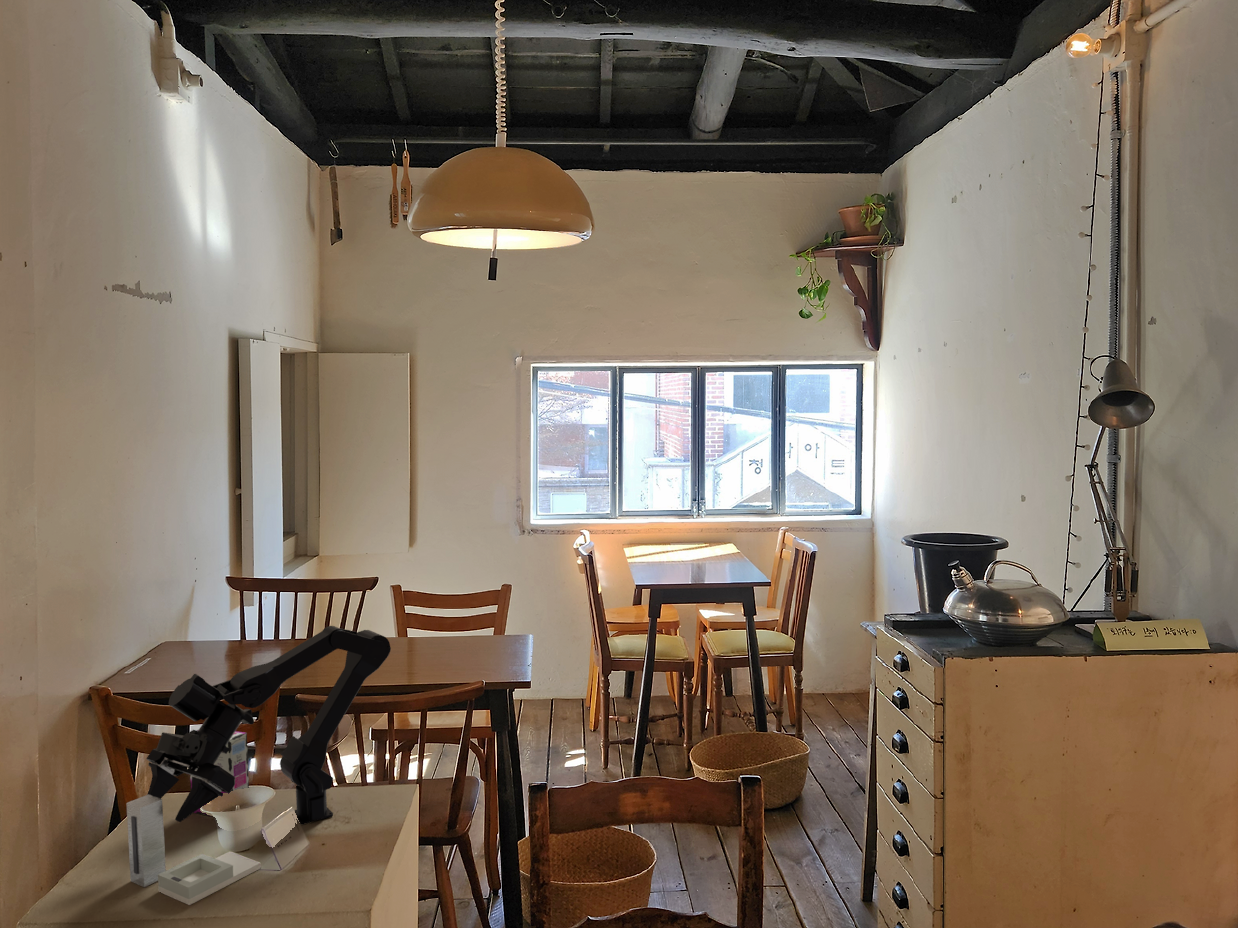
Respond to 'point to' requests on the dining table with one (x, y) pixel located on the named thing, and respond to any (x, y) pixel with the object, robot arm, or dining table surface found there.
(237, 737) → the candy bar box
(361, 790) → the dining table surface
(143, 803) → the block
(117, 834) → the dining table surface
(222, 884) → the white tray
